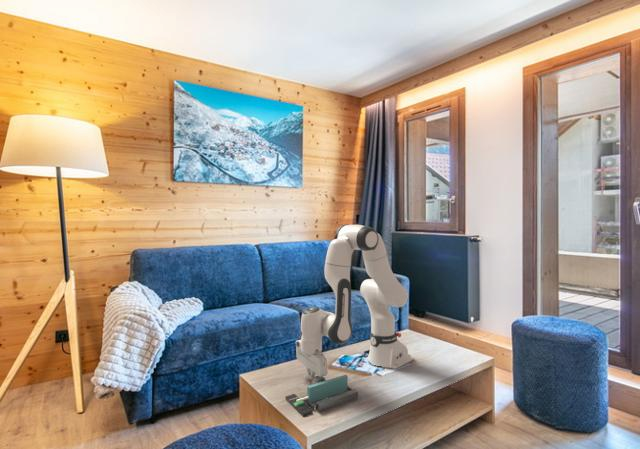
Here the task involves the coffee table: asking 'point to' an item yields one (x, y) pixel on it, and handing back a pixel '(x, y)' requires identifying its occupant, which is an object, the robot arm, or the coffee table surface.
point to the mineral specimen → (318, 379)
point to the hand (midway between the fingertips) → (311, 378)
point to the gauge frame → (322, 402)
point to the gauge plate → (326, 389)
